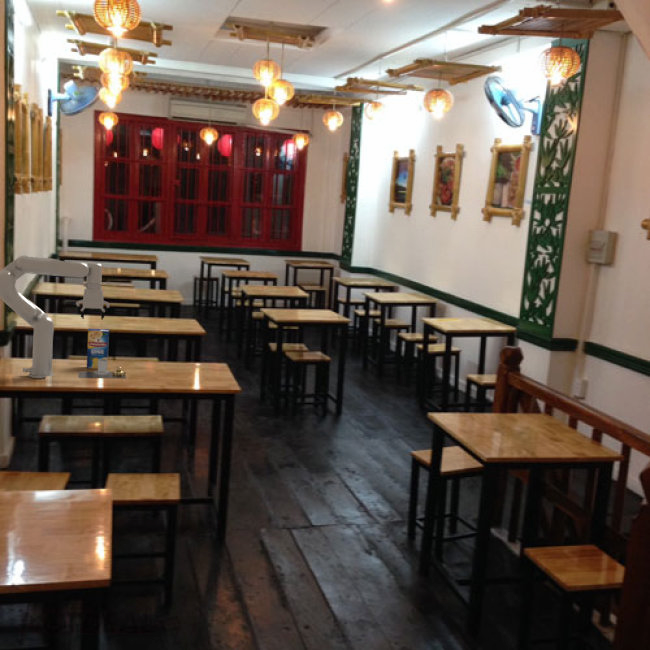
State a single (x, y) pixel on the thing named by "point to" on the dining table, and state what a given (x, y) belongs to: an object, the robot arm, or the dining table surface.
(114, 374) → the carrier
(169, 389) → the dining table surface
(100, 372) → the square hollow tube
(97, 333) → the beverage box
